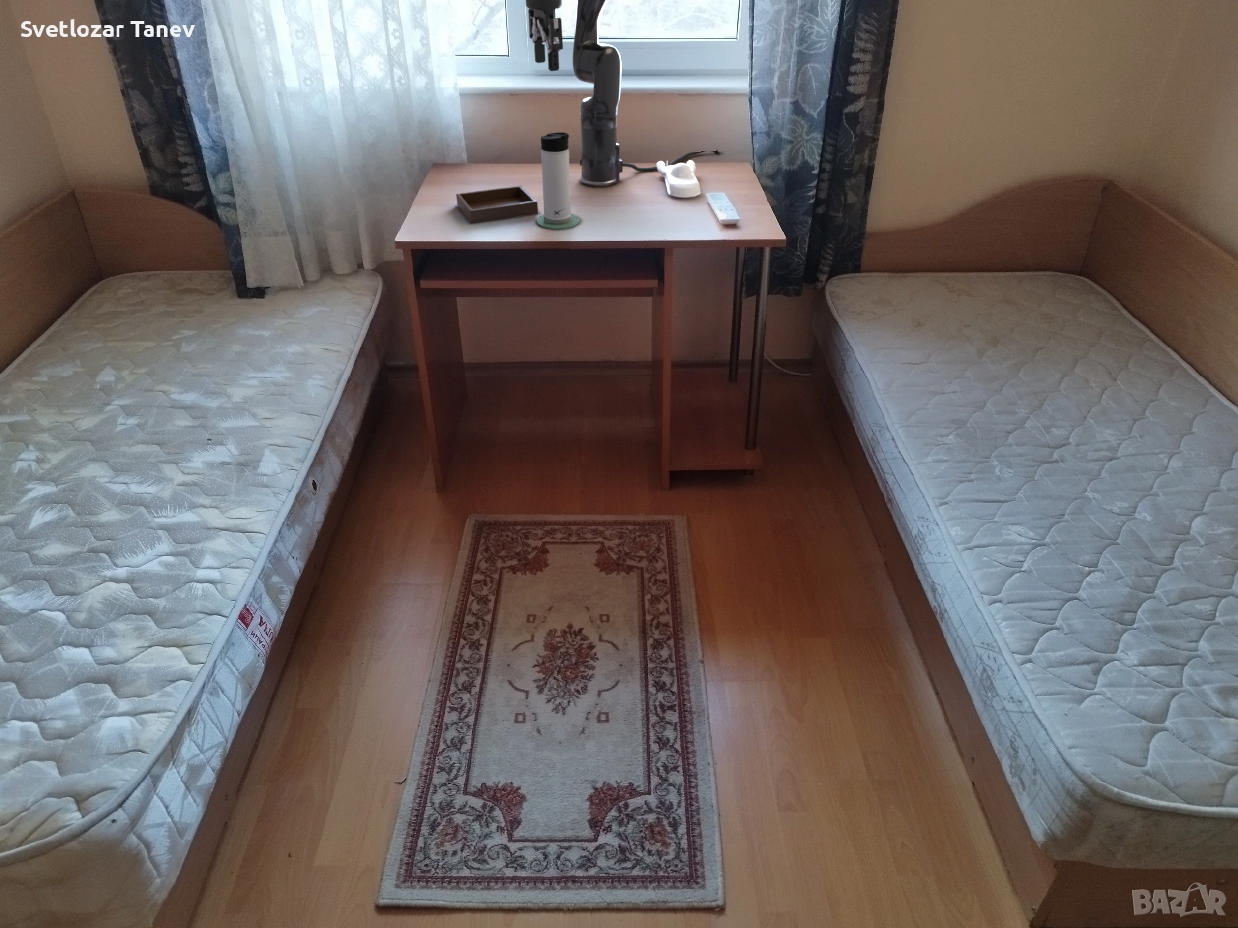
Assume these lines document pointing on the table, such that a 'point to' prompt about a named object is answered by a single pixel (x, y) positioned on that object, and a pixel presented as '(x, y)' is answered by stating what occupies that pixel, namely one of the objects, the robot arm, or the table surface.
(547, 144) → the travel mug
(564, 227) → the coaster
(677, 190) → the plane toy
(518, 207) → the tray
